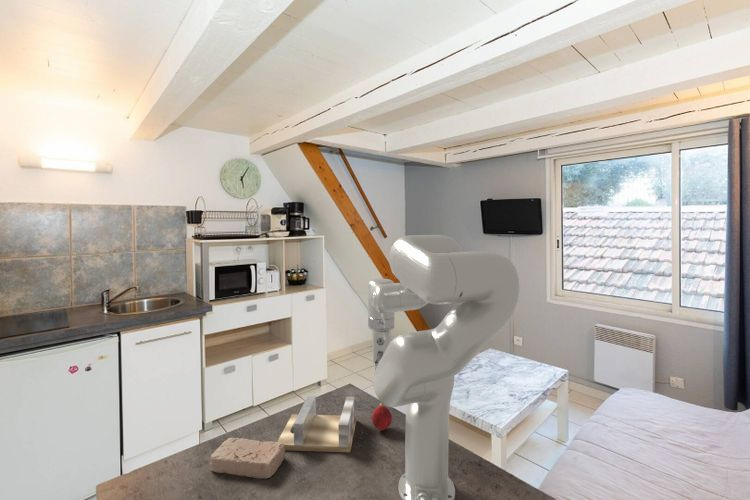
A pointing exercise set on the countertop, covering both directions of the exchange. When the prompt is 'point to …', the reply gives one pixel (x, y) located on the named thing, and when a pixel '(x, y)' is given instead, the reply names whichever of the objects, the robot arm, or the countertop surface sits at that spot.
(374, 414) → the onion
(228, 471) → the brick
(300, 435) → the vise jaw
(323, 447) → the vise base
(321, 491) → the countertop surface
